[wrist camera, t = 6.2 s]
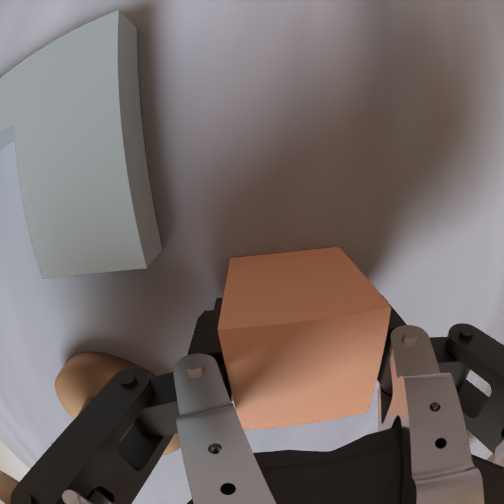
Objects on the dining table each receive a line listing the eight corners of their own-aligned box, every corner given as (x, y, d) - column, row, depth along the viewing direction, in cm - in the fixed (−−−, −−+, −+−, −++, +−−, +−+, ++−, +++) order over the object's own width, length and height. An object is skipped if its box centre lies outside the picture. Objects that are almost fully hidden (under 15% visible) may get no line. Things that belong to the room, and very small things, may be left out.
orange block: (338, 246, 11) (391, 306, 6) (335, 334, 13) (367, 411, 8) (230, 258, 11) (217, 329, 7) (243, 345, 13) (241, 429, 8)
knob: (162, 354, 13) (97, 556, 3) (202, 443, 16) (186, 576, 6) (44, 347, 13) (-39, 464, 3) (99, 431, 16) (60, 534, 6)
